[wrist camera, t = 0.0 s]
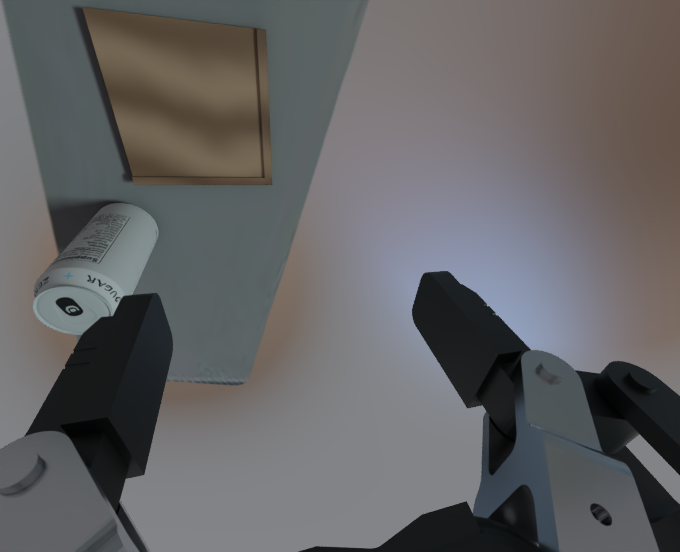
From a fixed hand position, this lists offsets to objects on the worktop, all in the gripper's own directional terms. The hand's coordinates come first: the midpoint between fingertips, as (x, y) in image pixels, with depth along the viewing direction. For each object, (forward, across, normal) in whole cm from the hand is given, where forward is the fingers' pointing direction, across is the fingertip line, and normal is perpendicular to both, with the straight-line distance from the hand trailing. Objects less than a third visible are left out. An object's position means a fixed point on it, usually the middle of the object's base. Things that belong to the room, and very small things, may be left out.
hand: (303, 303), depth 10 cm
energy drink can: (+30, +15, +11) cm, 35 cm away
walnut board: (+29, +6, -1) cm, 30 cm away
